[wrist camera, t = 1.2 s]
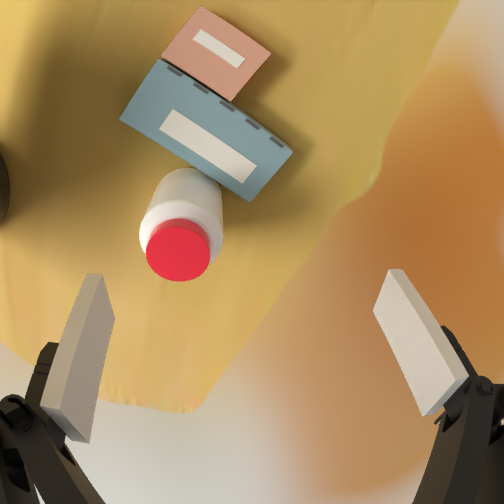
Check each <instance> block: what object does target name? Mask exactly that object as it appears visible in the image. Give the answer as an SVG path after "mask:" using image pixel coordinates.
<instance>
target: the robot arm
mask: <svg viewBox="0 0 504 504" xmlns="http://www.w3.org/2000/svg"><path fill="white" fill-rule="evenodd" d="M9 196H10V189H9V180H8V174H7V171H6V167H5V164H4V162H3V159H2V157H1V155H0V222H1V221H2V219H3V218H4V216H5V214H6V212H7V208H8V204H9ZM373 312H374V314H375V316H376V318H377V320H378V322H379V324H380V326H381V328H382V330H383V332H384V334H385V336H386V338H387V340H388V342H389V344H390V346H391V348H392V350H393V352H394V354H395V356H396V359H397V361H398V363H399V365H400V367H401V369H402V371H403V374H404V376H405V378H406V380H407V382H408V384H409V387H410V389H411V391H412V393H413V396H414V398H415V400H416V402H417V405H418V407H419V409H420V412H421V414H422V416H423V417H424V416H428V415H431V414H433V413H436V412H437V411H438V410H439V409H440V408H441V407H442V406H444V408H445V411H444V412H443V413H442V414H441V415H440V416H439V417H438V419H436V420H435V423H434V424H437V423H438V422H439V421H440V420H441V421H440V424H439V429H438V432H437V436H436V439H435V442H434V446H433V449H432V452H431V455H430V458H429V461H428V464H427V467H426V470H425V473H424V475H423V478H422V481H421V483H420V486H419V488H418V491H417V493H416V496H415V498H414V501H413V503H412V504H504V425H501V420H502V419H503V418H504V384H493V383H492V382H491V381H490V380H489V379H488V378H486V377H484V376H478V374H477V373H476V371H475V370H474V368H473V366H472V364H471V363H470V361H469V359H468V358H467V356H466V354H465V352H464V351H463V350H462V348H461V346H460V344H458V341H457V339H456V338H455V336H454V335H453V333H452V332H451V331H450V330H449V329H448V328H446V327H445V326H439V324H438V323H437V321H436V320H435V318H434V316H433V315H432V313H431V312H430V310H429V309H428V307H427V306H426V304H425V303H424V301H423V300H422V298H421V297H420V295H419V294H418V292H417V291H416V289H415V288H414V286H413V285H412V283H411V282H410V281H409V279H408V278H407V276H406V275H405V273H404V272H403V270H402V269H389V270H388V273H387V275H386V278H385V281H384V284H383V286H382V289H381V291H380V294H379V296H378V299H377V302H376V304H375V306H374V309H373ZM114 321H115V316H114V313H113V310H112V307H111V303H110V300H109V296H108V293H107V289H106V286H105V282H104V278H103V274H87V275H86V277H85V280H84V282H83V284H82V287H81V289H80V291H79V294H78V296H77V298H76V301H75V303H74V306H73V308H72V311H71V313H70V316H69V318H68V321H67V323H66V326H65V329H64V331H63V334H62V337H61V340H60V342H59V343H53V342H48V343H47V344H46V346H45V347H44V348H43V349H42V350H41V352H40V354H39V357H38V360H37V365H35V368H34V373H33V374H32V377H31V380H30V383H29V386H28V389H27V392H26V396H25V399H24V398H22V397H21V396H19V395H15V394H11V395H9V396H6V397H4V398H3V399H2V400H1V401H0V504H40V502H39V499H38V496H37V492H36V489H35V486H36V488H37V489H38V492H39V493H40V495H41V497H42V499H43V500H44V502H45V504H105V502H104V501H103V500H102V498H101V497H100V496H99V494H98V493H97V491H96V490H95V489H94V487H93V486H92V484H91V483H90V481H89V480H88V478H87V477H86V476H85V474H84V472H83V471H82V469H81V468H80V466H79V465H78V463H77V462H76V460H75V459H74V457H73V455H72V453H71V452H70V450H69V448H68V447H67V445H66V444H65V443H64V441H65V436H66V435H67V436H68V437H69V438H70V439H71V440H72V441H78V442H84V443H89V442H90V436H91V429H92V423H93V417H94V411H95V406H96V400H97V395H98V390H99V385H100V380H101V376H102V371H103V366H104V362H105V358H106V353H107V349H108V345H109V341H110V337H111V333H112V329H113V325H114ZM34 484H35V486H34Z"/></svg>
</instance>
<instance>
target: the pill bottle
mask: <svg viewBox="0 0 504 504" xmlns="http://www.w3.org/2000/svg"><path fill="white" fill-rule="evenodd" d="M139 239H140V244H141V247H142V250H143V251H144V253H145V255H146V259H147V261H148V264H149V265H150V267H151V268H152V269H153V271H154V272H155V273H157V274H158V275H159V276H161V277H163V278H165V279H168V280H171V281H189V280H192V279H195V278H196V277H198V276H200V275H201V274H202V273H203V272H204V271H205V270H206V269H207V267H208V266H209V265H210V264H211V263H212V262H214V260H215V259H216V258H217V257H218V255H219V253H220V251H221V249H222V245H223V205H222V193H221V190H220V187H219V185H218V184H217V182H216V181H215V180H214V179H213V178H211V177H210V176H208V175H207V174H205V173H203V172H202V171H200V170H199V169H195V168H180V169H176V170H174V171H171V172H169V173H168V174H167V175H165V176H164V177H163V178H162V179H161V180H160V182H159V183H158V185H157V187H156V189H155V191H154V194H153V196H152V198H151V200H150V203H149V205H148V207H147V210H146V212H145V215H144V217H143V219H142V222H141V225H140V229H139Z"/></svg>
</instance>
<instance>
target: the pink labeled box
mask: <svg viewBox="0 0 504 504" xmlns="http://www.w3.org/2000/svg"><path fill="white" fill-rule="evenodd" d="M270 55H271V53H270V52H269V51H267V50H266V49H265V48H263V47H262V46H261V45H259V44H258V43H257V42H255V41H254V40H252V39H251V38H250V37H248V36H247V35H245V34H244V33H242V32H241V31H240V30H238V29H237V28H235V27H234V26H232V25H231V24H229V23H228V22H226V21H225V20H223V19H222V18H220V17H218V16H217V15H215V14H214V13H212V12H210V11H209V10H207V9H206V8H204V7H202V6H200V7H199V8H198V9H197V11H196V12H195V13H194V14H193V15H192V16H191V18H190V19H189V20H188V21H187V22H186V24H185V25H184V26H183V27H182V29H181V30H180V31H179V32H178V34H177V35H176V36H175V37H174V39H173V40H172V41H171V43H170V44H169V45H168V47H167V48H166V49H165V51H164V52H163V53H162V55H161V57H163V58H165V59H166V60H168V61H169V62H171V63H173V64H174V65H176V66H178V67H179V68H181V69H182V70H184V71H186V72H187V73H189V74H190V75H192V76H193V77H195V78H196V79H198V80H199V81H201V82H202V83H204V84H205V85H207V86H208V87H210V88H211V89H213V90H214V91H216V92H217V93H219V94H220V95H222V96H223V97H225V98H226V99H228V100H229V101H230V102H231V101H232V99H233V98H234V97H235V96H236V94H237V93H238V92H239V91H240V90H241V88H242V87H243V86H244V85H245V84H246V82H247V81H248V80H249V79H250V78H251V76H252V75H253V74H254V73H255V72H256V71H257V69H258V68H259V67H260V66H261V65H262V64H263V62H264V61H265V60H266V59H267V58H268V57H269V56H270Z"/></svg>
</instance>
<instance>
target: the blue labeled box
mask: <svg viewBox="0 0 504 504" xmlns="http://www.w3.org/2000/svg"><path fill="white" fill-rule="evenodd" d="M119 120H120V121H122V122H124V123H125V124H127V125H129V126H130V127H132V128H134V129H135V130H137V131H138V132H140V133H142V134H143V135H145V136H147V137H148V138H150V139H151V140H153V141H155V142H156V143H158V144H159V145H161V146H163V147H164V148H166V149H167V150H169V151H171V152H172V153H174V154H175V155H177V156H178V157H180V158H182V159H183V160H185V161H186V162H188V163H189V164H191V165H193V166H194V167H196V168H197V169H199V170H200V171H202V172H203V173H205V174H207V175H208V176H210V177H211V178H213V179H214V180H216V181H217V182H219V183H220V184H222V185H223V186H225V187H226V188H228V189H229V190H231V191H232V192H234V193H235V194H237V195H238V196H240V197H241V198H243V199H244V200H246V201H247V202H249V203H250V202H251V201H252V200H253V199H254V198H255V196H256V195H257V194H258V193H259V192H260V190H261V189H262V188H263V187H264V186H265V185H266V183H267V182H268V181H269V180H270V179H271V178H272V176H273V175H274V174H275V173H276V172H277V171H278V169H279V168H280V167H281V166H282V165H283V164H284V163H285V161H286V160H287V159H288V158H289V157H290V156H291V155H292V153H293V151H292V150H291V148H290V147H289V146H288V145H287V144H286V143H285V142H283V141H282V140H281V139H279V138H278V137H277V136H275V135H274V134H273V133H272V132H270V131H269V130H268V129H266V128H265V127H264V126H262V125H261V124H260V123H258V122H257V121H256V120H254V119H253V118H251V117H250V116H249V115H247V114H246V113H245V112H243V111H242V110H240V109H239V108H238V107H236V106H235V105H233V104H232V103H230V102H229V101H228V100H226V99H225V98H223V97H222V96H220V95H219V94H217V93H216V92H215V91H213V90H212V89H210V88H209V87H207V86H206V85H204V84H203V83H201V82H200V81H198V80H196V79H195V78H193V77H192V76H190V75H189V74H187V73H186V72H184V71H182V70H181V69H179V68H178V67H176V66H174V65H173V64H171V63H170V62H168V61H166V60H165V59H158V60H157V62H156V63H155V65H154V66H153V67H152V69H151V70H150V72H149V73H148V75H147V76H146V77H145V79H144V80H143V82H142V83H141V85H140V86H139V88H138V89H137V91H136V93H135V94H134V96H133V97H132V99H131V100H130V102H129V104H128V105H127V107H126V108H125V110H124V112H123V113H122V115H121V117H120V118H119Z"/></svg>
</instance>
